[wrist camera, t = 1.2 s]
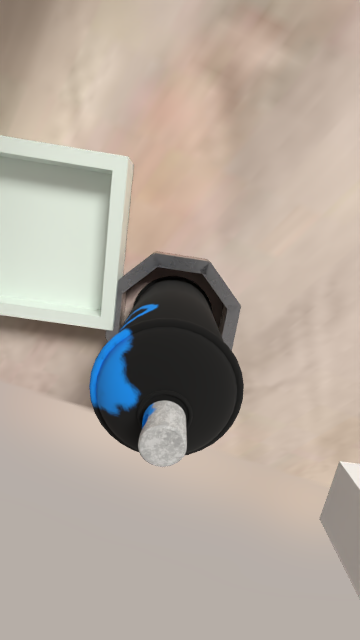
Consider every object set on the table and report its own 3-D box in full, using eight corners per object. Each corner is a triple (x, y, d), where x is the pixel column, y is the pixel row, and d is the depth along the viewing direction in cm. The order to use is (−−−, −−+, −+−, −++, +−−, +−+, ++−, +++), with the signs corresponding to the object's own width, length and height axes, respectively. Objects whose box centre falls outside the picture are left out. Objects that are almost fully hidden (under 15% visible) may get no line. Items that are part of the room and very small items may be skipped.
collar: (118, 245, 29) (113, 246, 27) (243, 264, 30) (249, 267, 27) (108, 361, 32) (102, 372, 30) (220, 377, 33) (223, 388, 31)
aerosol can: (223, 289, 30) (299, 385, 11) (198, 360, 32) (226, 545, 13) (144, 265, 30) (81, 323, 10) (124, 340, 32) (41, 503, 13)
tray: (-35, 137, 26) (-61, 125, 24) (133, 165, 27) (128, 156, 24) (-28, 300, 31) (-50, 307, 28) (118, 321, 31) (112, 330, 28)
